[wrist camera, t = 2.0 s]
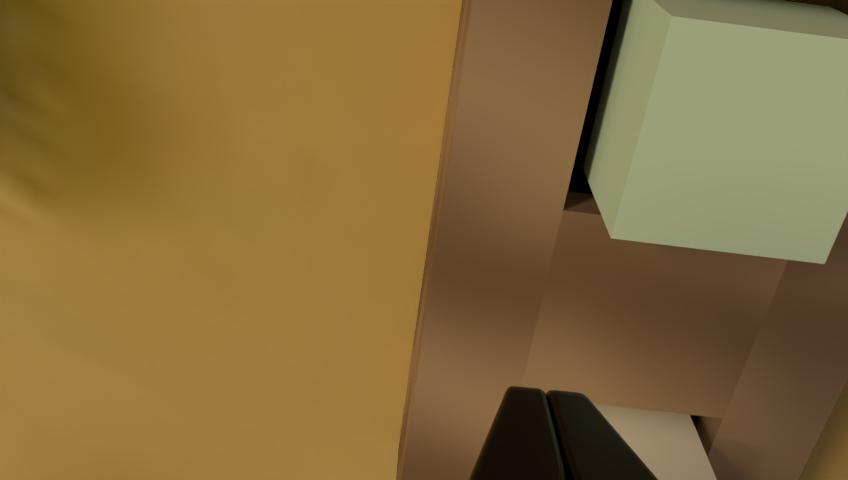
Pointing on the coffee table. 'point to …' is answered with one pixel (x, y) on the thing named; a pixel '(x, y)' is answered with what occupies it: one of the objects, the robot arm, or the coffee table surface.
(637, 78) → the pale green block
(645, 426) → the cream square block
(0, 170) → the coffee table surface
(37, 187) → the coffee table surface
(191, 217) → the coffee table surface
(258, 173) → the coffee table surface
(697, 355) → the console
